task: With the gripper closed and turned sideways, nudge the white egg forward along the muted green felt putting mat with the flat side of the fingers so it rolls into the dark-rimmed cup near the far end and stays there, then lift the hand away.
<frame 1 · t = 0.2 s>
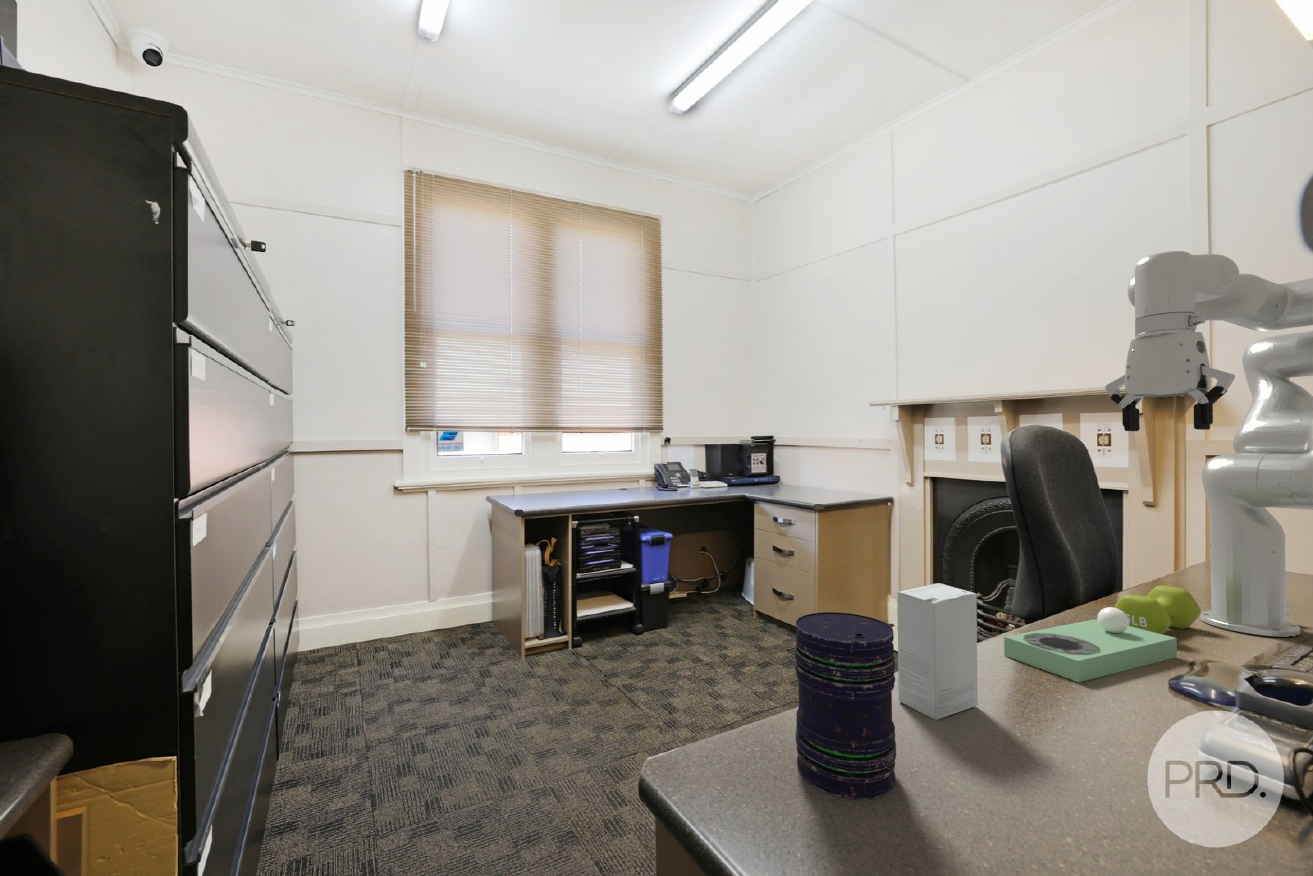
hand: (1165, 430, 95), 36 cm above the table, tool pointing down, fingers open, 9 cm apart
putting mat: (1090, 656, 89), on the table
skincare box: (937, 707, 73), on the table
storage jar: (844, 772, 58), on the table
dumbbell: (1156, 633, 101), on the table
white egg: (1113, 620, 92), point 5 cm above the table, touching putting mat
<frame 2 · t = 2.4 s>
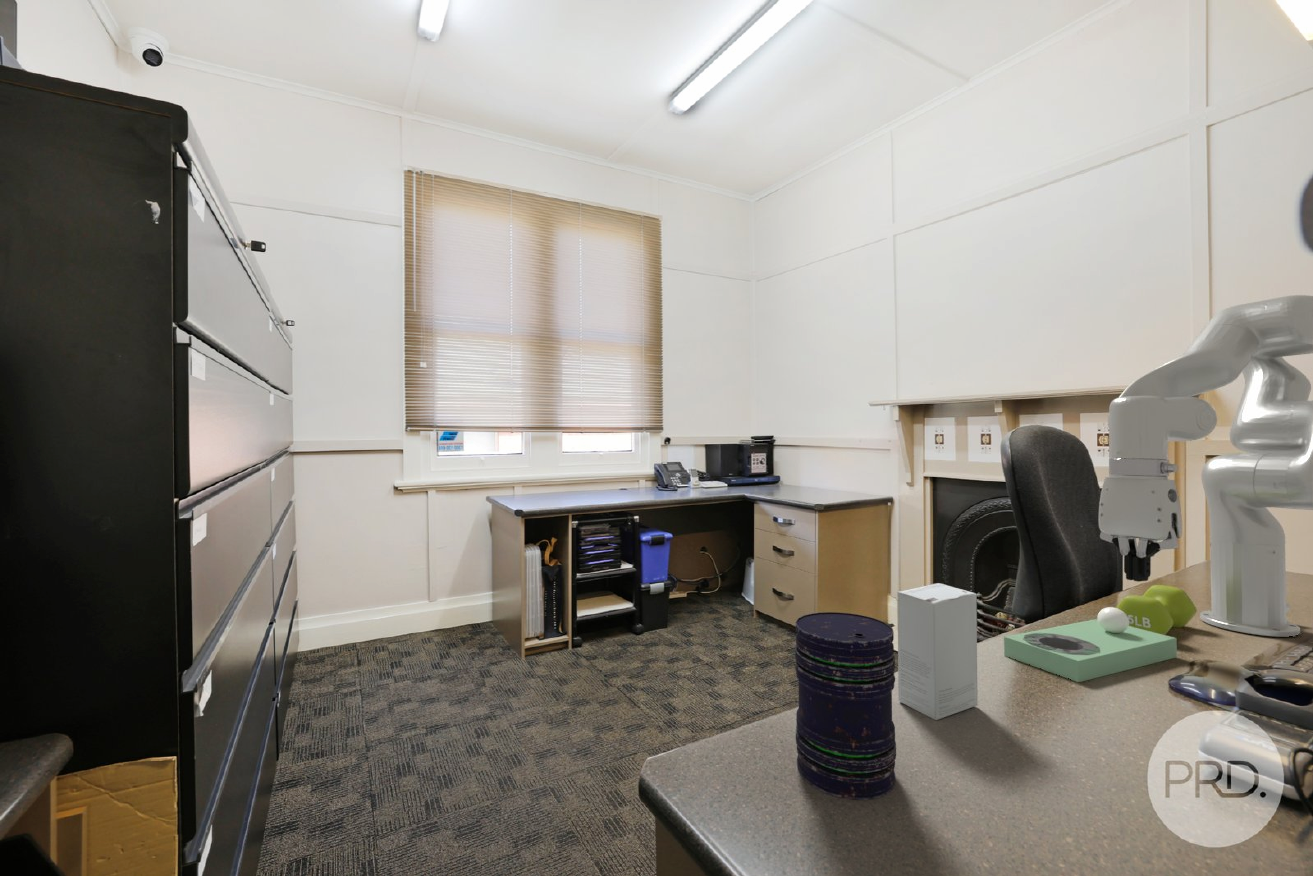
hand: (1137, 579, 94), 11 cm above the table, tool pointing down, fingers closed
nothing on the table moved.
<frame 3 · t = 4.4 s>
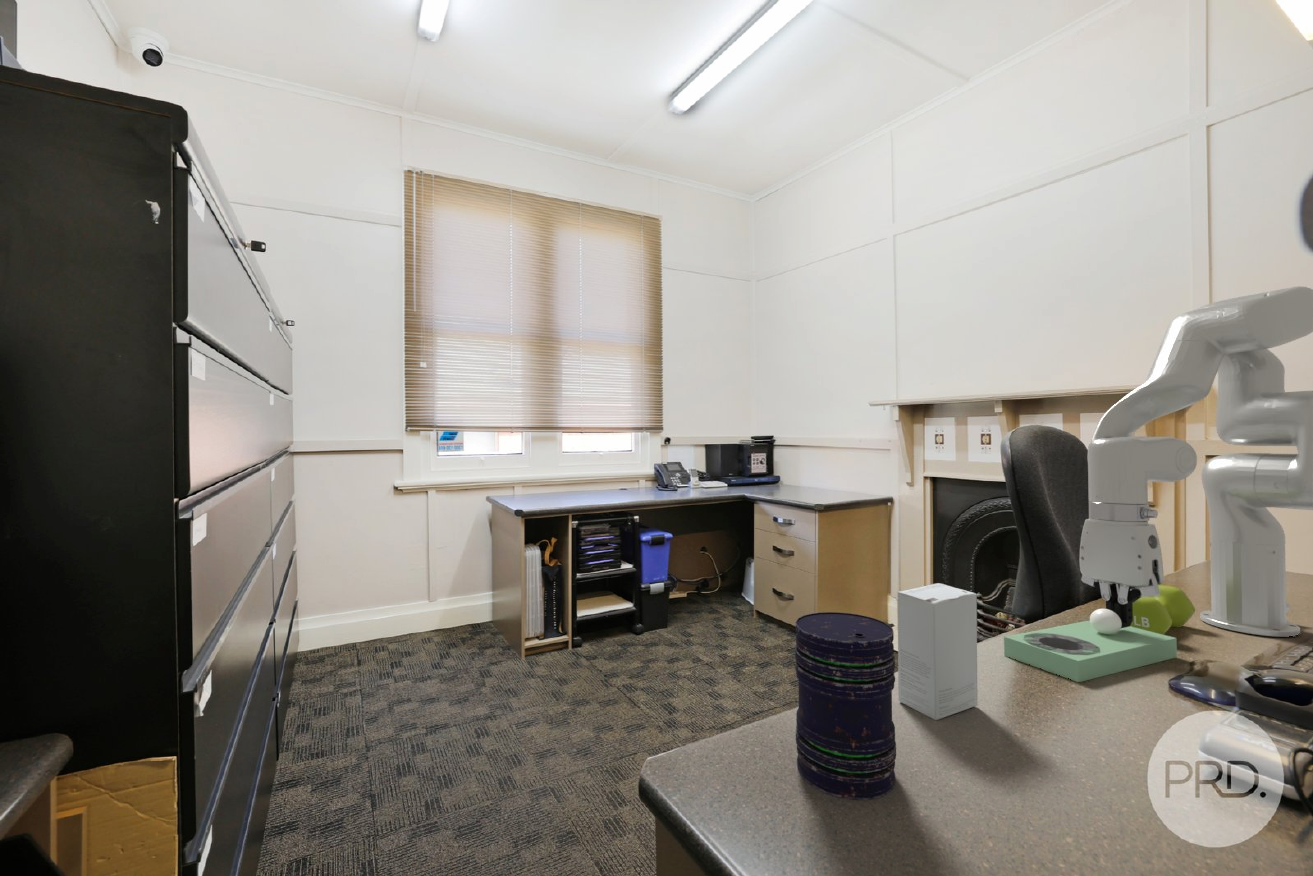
hand: (1119, 625, 92), 4 cm above the table, tool pointing down, fingers closed
white egg: (1105, 621, 91), point 5 cm above the table, tilted 37°, touching gripper, putting mat
everything else where it was.
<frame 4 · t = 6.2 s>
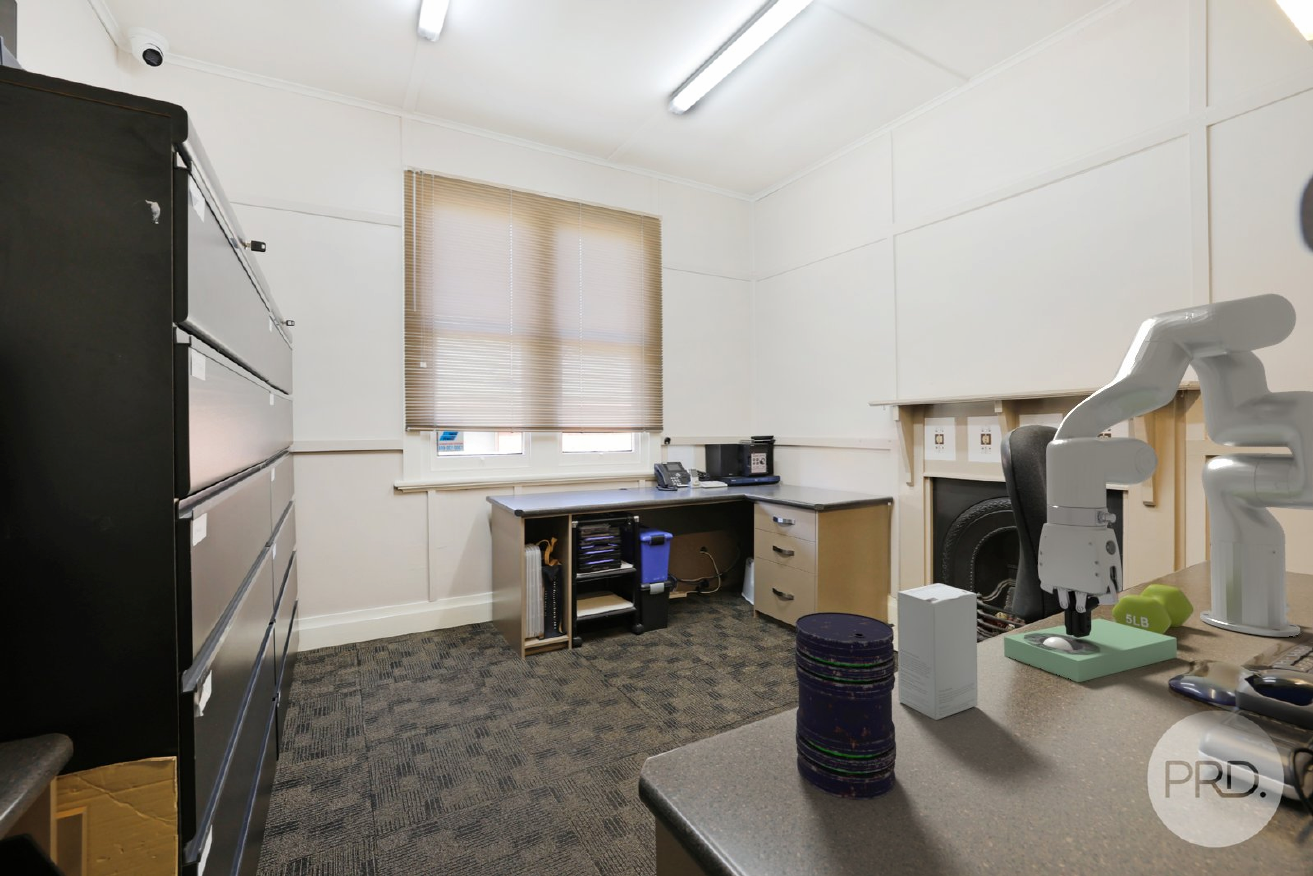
hand: (1077, 634, 88), 4 cm above the table, tool pointing down, fingers closed
white egg: (1057, 650, 86), point 2 cm above the table, tilted 38°
everything else where it was.
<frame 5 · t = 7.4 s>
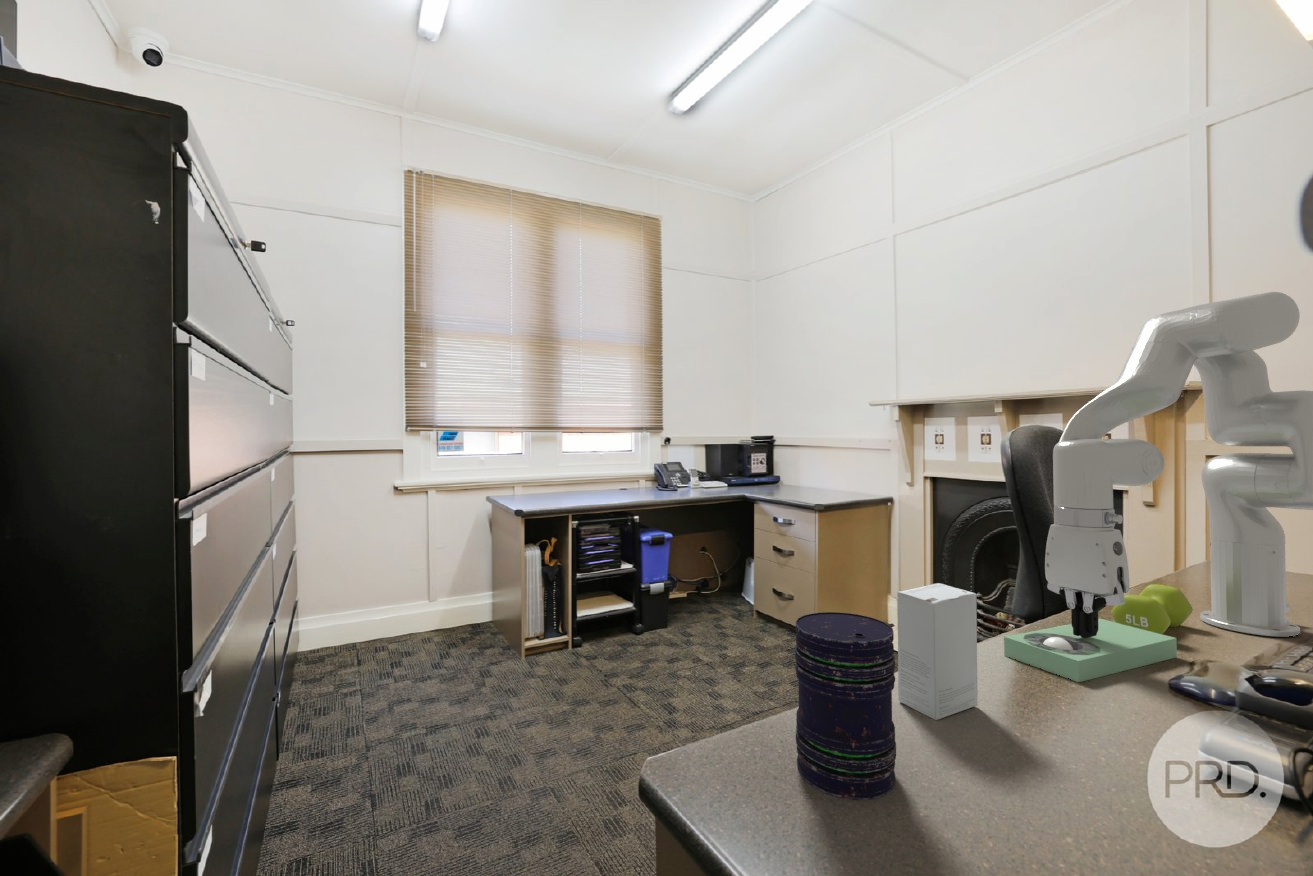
hand: (1085, 635, 89), 4 cm above the table, tool pointing down, fingers closed
nothing on the table moved.
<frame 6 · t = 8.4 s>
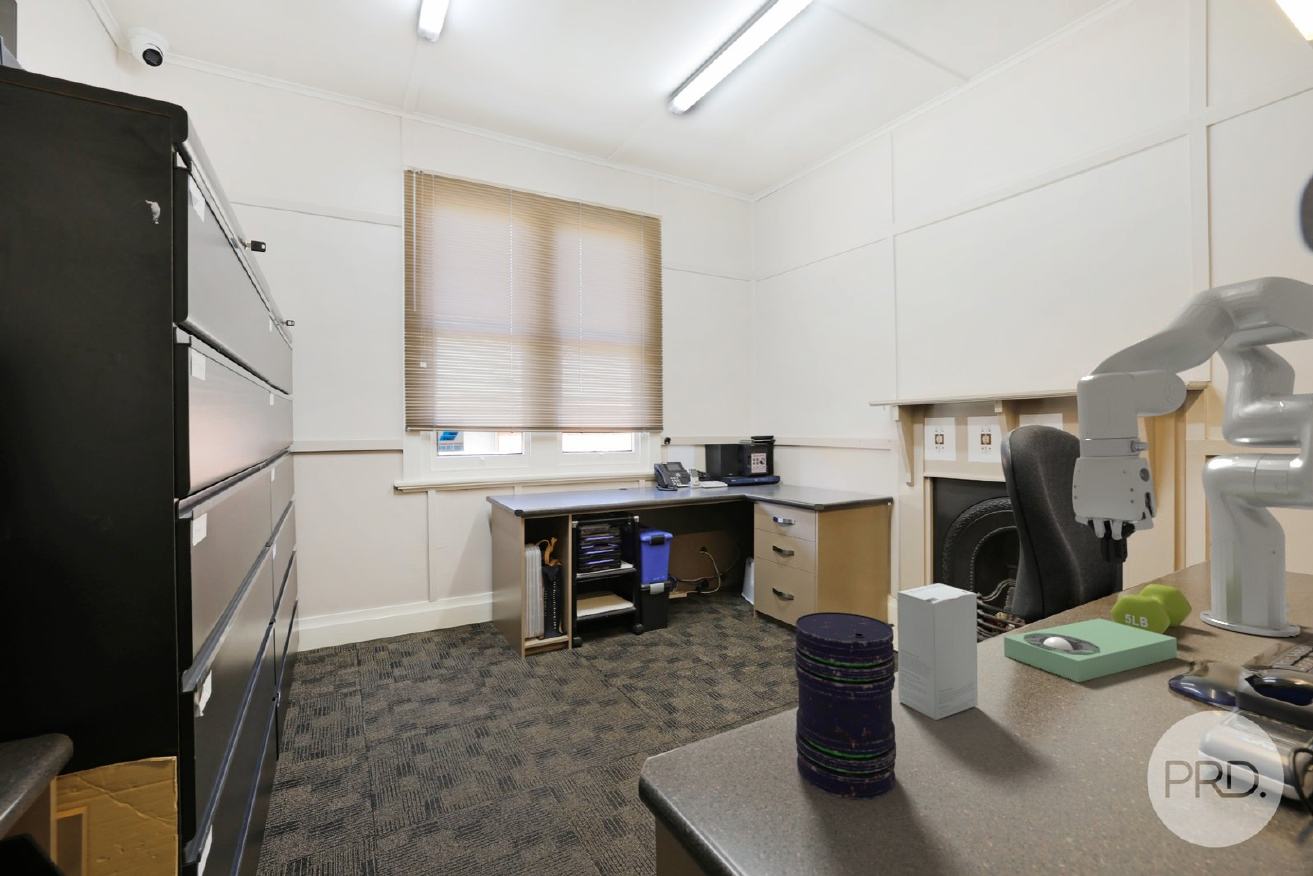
hand: (1114, 561, 92), 14 cm above the table, tool pointing down, fingers closed
nothing on the table moved.
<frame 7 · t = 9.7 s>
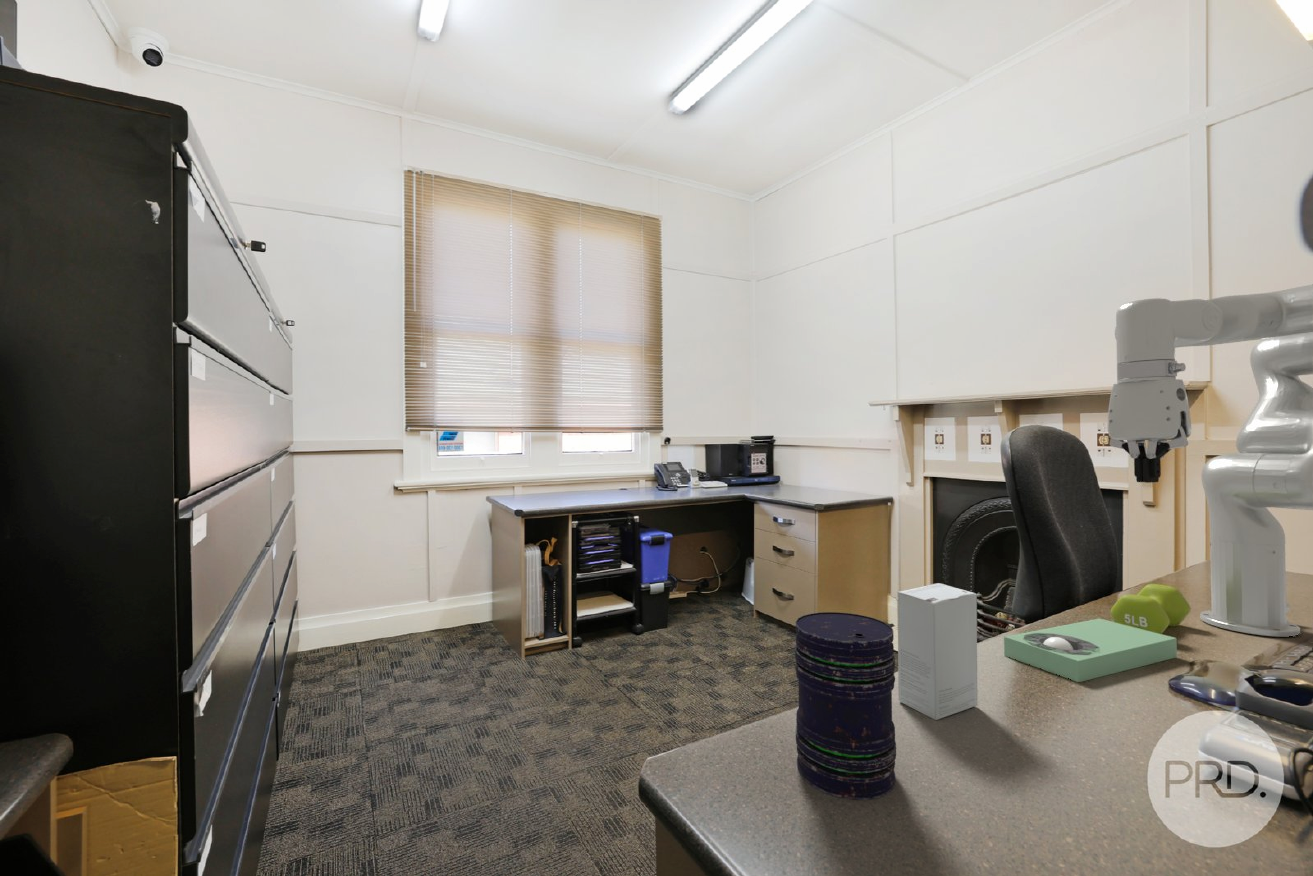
hand: (1147, 481, 96), 27 cm above the table, tool pointing down, fingers closed
nothing on the table moved.
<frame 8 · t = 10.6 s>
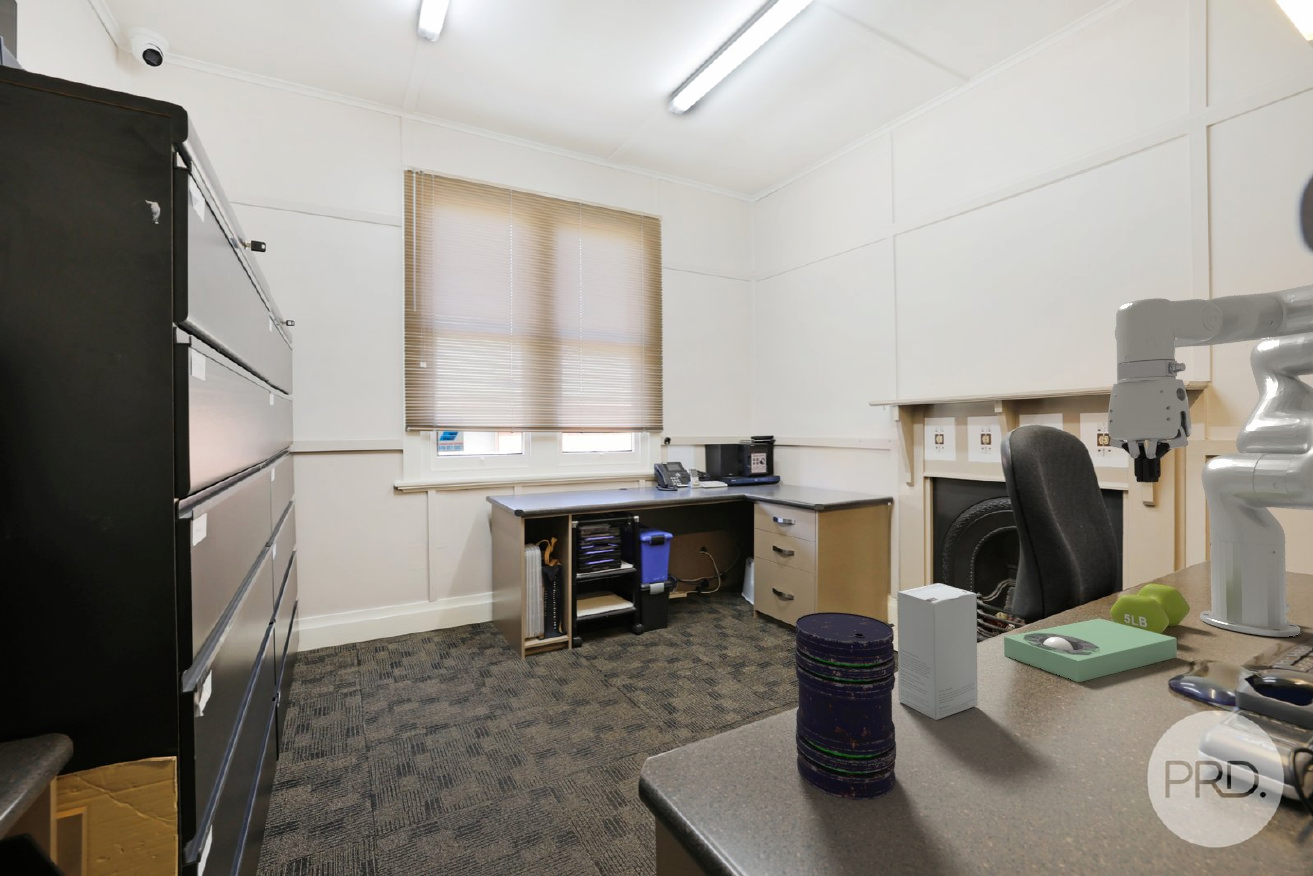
hand: (1147, 481, 96), 27 cm above the table, tool pointing down, fingers closed
nothing on the table moved.
at the end: white egg 0.6 cm from the target spot in the putting mat, point 2.0 cm above the putting mat's base; the gripper is holding nothing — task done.
